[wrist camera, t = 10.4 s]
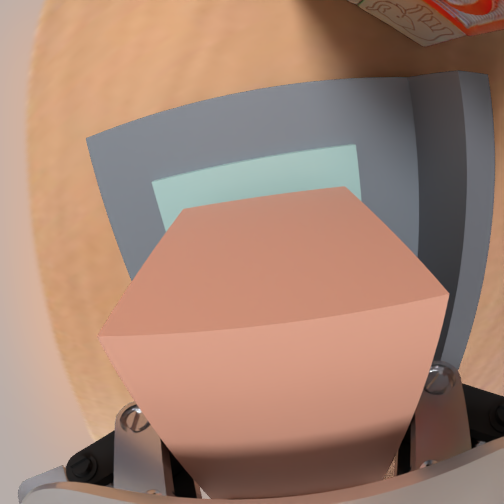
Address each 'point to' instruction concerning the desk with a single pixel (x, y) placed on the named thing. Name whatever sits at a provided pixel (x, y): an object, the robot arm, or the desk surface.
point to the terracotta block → (278, 343)
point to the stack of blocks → (437, 17)
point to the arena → (323, 168)
